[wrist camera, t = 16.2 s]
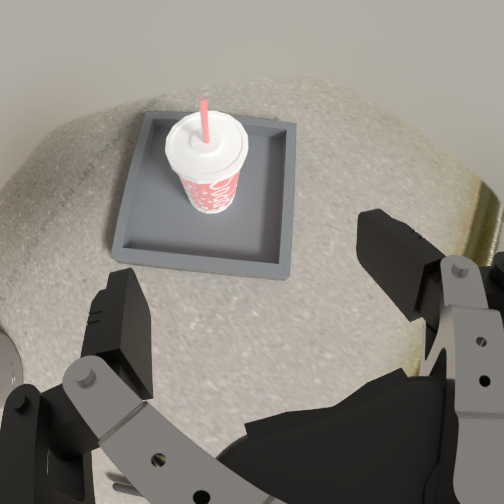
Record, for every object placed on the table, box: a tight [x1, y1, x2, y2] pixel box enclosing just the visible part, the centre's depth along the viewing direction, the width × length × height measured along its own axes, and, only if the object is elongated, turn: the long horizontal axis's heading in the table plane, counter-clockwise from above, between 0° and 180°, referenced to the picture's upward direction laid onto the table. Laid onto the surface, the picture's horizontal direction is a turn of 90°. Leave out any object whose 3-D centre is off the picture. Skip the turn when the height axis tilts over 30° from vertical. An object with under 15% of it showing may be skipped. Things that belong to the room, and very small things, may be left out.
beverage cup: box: [165, 96, 248, 214], centre depth 24 cm, size 6×6×14 cm
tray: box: [110, 111, 296, 281], centre depth 30 cm, size 16×16×2 cm
